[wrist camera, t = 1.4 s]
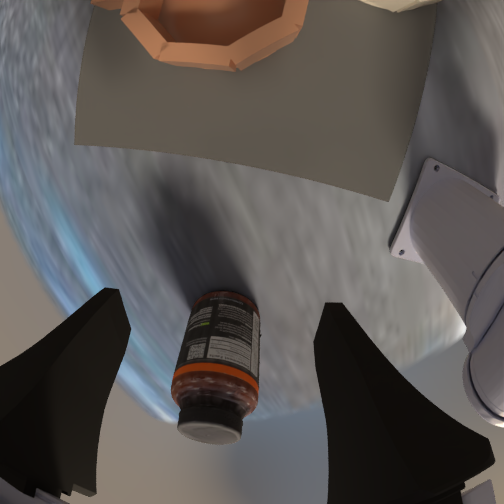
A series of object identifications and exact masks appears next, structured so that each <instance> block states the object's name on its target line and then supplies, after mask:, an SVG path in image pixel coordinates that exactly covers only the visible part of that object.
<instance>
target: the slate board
mask: <svg viewBox="0 0 504 504" xmlns="http://www.w3.org/2000/svg"><path fill="white" fill-rule="evenodd" d="M436 11H437V3H434V4H430V5H426V6H421V7H418V8H415V9H412V10H406V11H402V12H399V13H397V11H395V12H392V11H390V10H388V9H382V8H379V7H375V6H372V5H369V4H366V3H364V2H361V1H359V0H309V2H308V6H307V10H306V14H305V19H304V23H303V26H302V28H301V30H300V32H299V34H298V36H297V37H296V38H295V39H294V41H293V42H292V43H290V44H288V45H286V46H284V47H282V48H280V49H278V50H277V51H275V52H274V53H272V54H271V55H269V56H268V57H266V58H264V59H262V60H260V61H257V62H255V63H253V64H251V65H250V66H248V67H247V68H245V69H243V70H242V71H241V70H240V69H239V68H236V72H232V71H224V70H215V69H203V68H196V67H183V66H175V65H171V64H168V63H164V62H160V61H159V60H157V59H153V57H152V56H151V55H150V54H149V52H148V51H147V50H146V49H145V47H144V46H143V45H142V44H141V43H140V41H139V40H138V39H137V38H136V37H135V35H134V34H133V33H132V32H131V31H130V29H129V28H128V27H127V26H126V25H125V24H124V22H123V21H122V20H121V18H122V17H123V16H122V15H120V12H121V9H115V10H107V9H104V8H102V7H99V6H96V5H95V6H94V9H93V13H92V16H91V20H90V24H89V28H88V33H87V37H86V42H85V47H84V52H83V58H82V64H81V70H80V77H79V85H78V94H77V104H76V118H75V143H74V145H89V146H105V147H117V148H129V149H139V150H148V151H157V152H165V153H173V154H180V155H187V156H194V157H200V158H206V159H212V160H218V161H224V162H230V163H235V164H240V165H246V166H251V167H256V168H261V169H265V170H270V171H275V172H279V173H284V174H288V175H292V176H297V177H301V178H305V179H309V180H313V181H317V182H321V183H325V184H328V185H332V186H336V187H340V188H343V189H347V190H350V191H354V192H357V193H361V194H364V195H367V196H371V197H374V198H377V199H380V200H384V201H387V202H389V200H390V197H391V195H392V192H393V189H394V186H395V184H396V181H397V178H398V175H399V172H400V169H401V167H402V164H403V161H404V157H405V154H406V151H407V148H408V145H409V142H410V138H411V135H412V131H413V128H414V124H415V121H416V117H417V113H418V110H419V106H420V102H421V98H422V93H423V89H424V85H425V80H426V76H427V71H428V66H429V60H430V55H431V49H432V43H433V36H434V29H435V21H436Z"/></svg>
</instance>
